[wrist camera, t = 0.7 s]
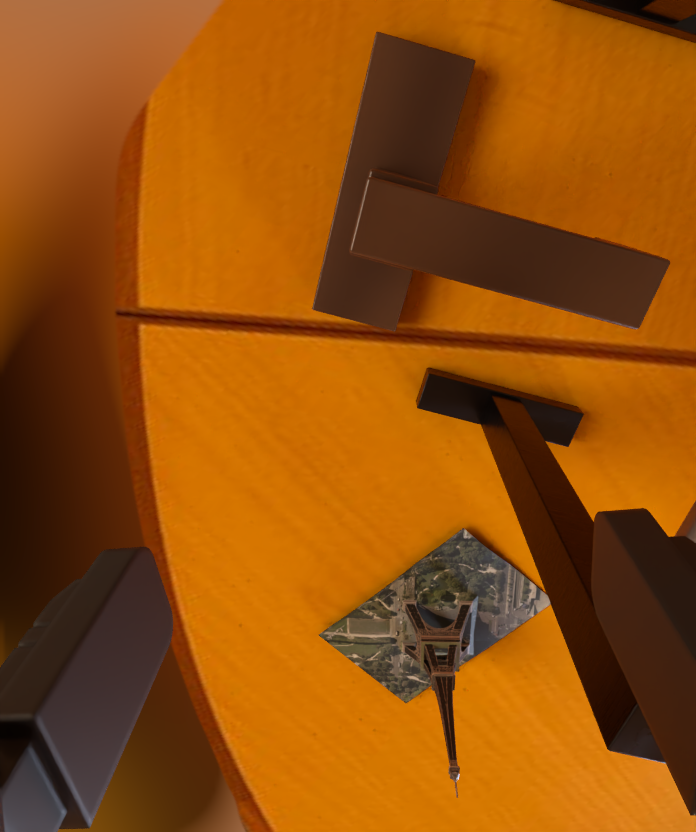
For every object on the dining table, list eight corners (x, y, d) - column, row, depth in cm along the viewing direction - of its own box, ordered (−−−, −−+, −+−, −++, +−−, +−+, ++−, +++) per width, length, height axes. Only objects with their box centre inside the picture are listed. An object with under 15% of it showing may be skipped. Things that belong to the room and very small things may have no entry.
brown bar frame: (314, 303, 34) (255, 429, 18) (376, 37, 29) (372, -134, 12) (473, 345, 35) (555, 504, 19) (563, 92, 29) (798, -2, 13)
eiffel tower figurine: (462, 518, 40) (499, 673, 28) (554, 601, 42) (624, 776, 30) (319, 631, 45) (295, 805, 33) (408, 699, 47) (418, 884, 35)
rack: (567, -61, 27) (1273, -915, 6) (765, -1, 27) (2085, -573, 6) (415, 401, 37) (464, 724, 15) (563, 439, 37) (806, 802, 16)
